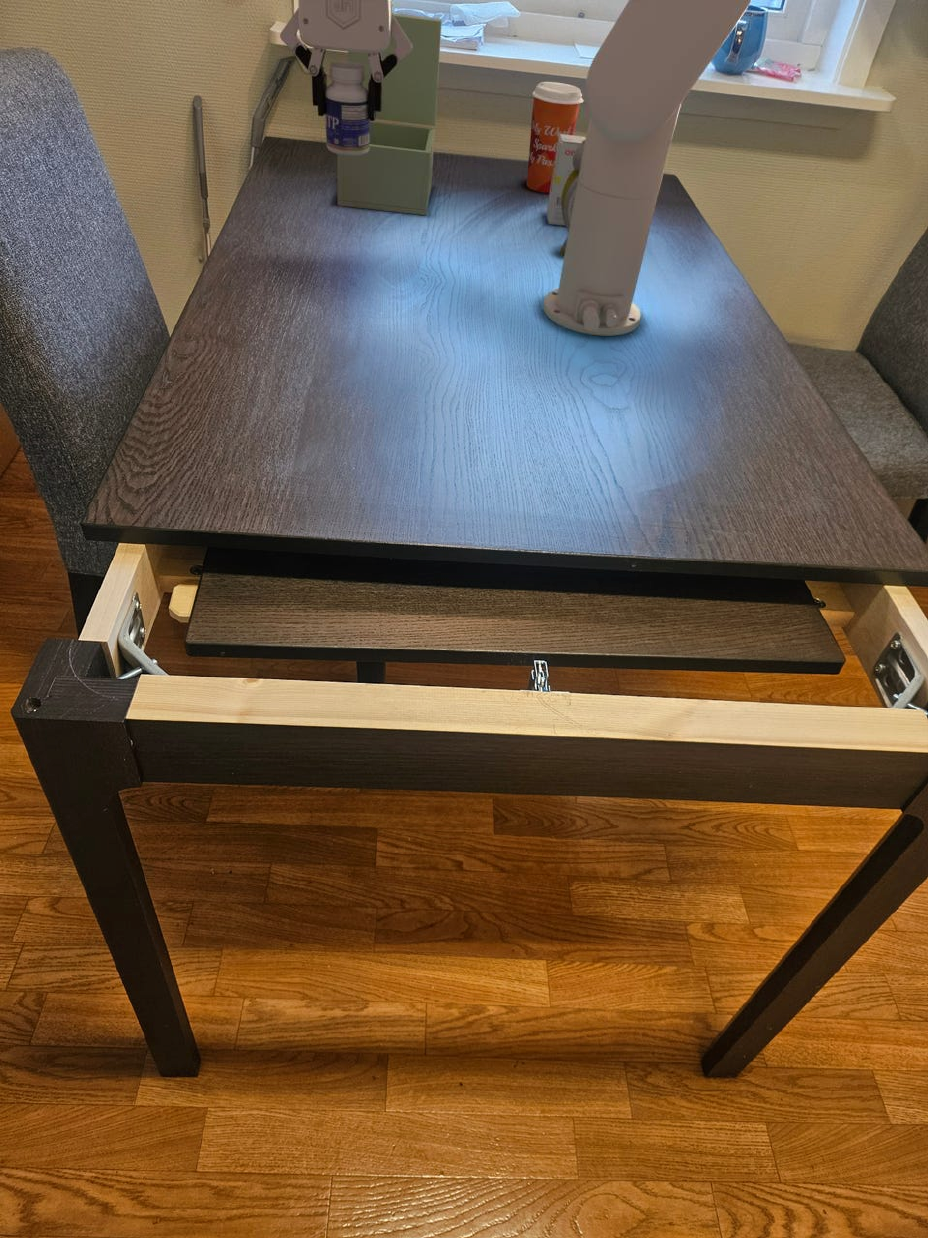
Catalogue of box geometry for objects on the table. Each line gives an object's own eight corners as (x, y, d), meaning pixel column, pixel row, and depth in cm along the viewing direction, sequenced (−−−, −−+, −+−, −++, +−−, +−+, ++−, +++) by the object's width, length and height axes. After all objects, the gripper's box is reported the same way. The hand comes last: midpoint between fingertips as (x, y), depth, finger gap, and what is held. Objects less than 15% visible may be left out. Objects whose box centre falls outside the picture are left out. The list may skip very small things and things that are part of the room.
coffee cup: (514, 188, 144) (528, 87, 133) (526, 176, 149) (540, 77, 139) (562, 198, 142) (580, 96, 132) (572, 185, 148) (589, 86, 138)
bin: (426, 215, 130) (430, 152, 124) (337, 205, 129) (337, 141, 123) (431, 187, 140) (435, 127, 134) (348, 177, 139) (349, 117, 133)
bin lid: (441, 21, 121) (443, 5, 125) (346, 9, 121) (351, -7, 124) (435, 125, 133) (437, 108, 137) (348, 115, 133) (353, 98, 136)
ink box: (598, 219, 137) (614, 137, 128) (601, 230, 133) (618, 147, 125) (545, 213, 136) (558, 131, 128) (547, 224, 132) (560, 140, 124)
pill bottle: (320, 144, 104) (317, 59, 98) (360, 142, 106) (360, 59, 100) (335, 157, 101) (333, 70, 95) (376, 155, 103) (376, 69, 97)
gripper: (256, -87, 86) (269, 116, 98) (424, -69, 86) (417, 130, 99) (269, -92, 91) (281, 101, 103) (428, -75, 92) (420, 114, 104)
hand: (347, 113), depth 101 cm, fingers closed on pill bottle, 5 cm apart
